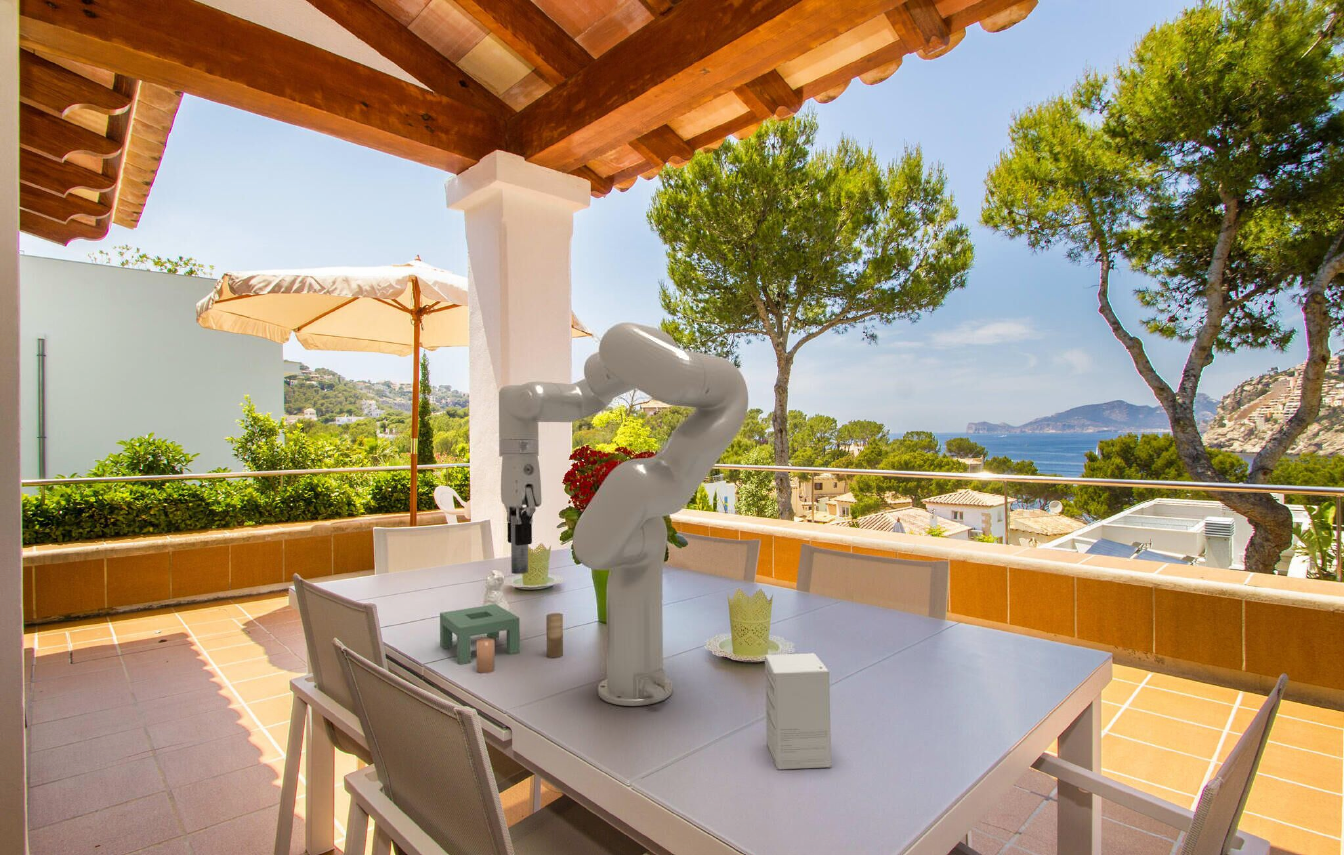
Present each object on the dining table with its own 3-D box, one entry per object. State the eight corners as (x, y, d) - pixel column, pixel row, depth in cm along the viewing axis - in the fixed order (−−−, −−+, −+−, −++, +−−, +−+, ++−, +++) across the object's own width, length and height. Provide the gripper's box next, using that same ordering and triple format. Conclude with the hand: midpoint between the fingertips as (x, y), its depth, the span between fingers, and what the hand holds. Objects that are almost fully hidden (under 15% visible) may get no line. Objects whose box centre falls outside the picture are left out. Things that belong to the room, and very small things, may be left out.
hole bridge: (519, 652, 133) (519, 617, 133) (460, 664, 126) (459, 627, 126) (495, 636, 144) (495, 604, 145) (440, 646, 138) (439, 612, 138)
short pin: (497, 670, 122) (496, 641, 123) (480, 674, 121) (479, 644, 121) (491, 666, 125) (491, 637, 125) (474, 669, 123) (474, 640, 123)
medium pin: (565, 656, 130) (565, 615, 131) (550, 659, 129) (550, 618, 129) (558, 651, 133) (558, 612, 133) (544, 654, 131) (543, 614, 131)
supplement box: (817, 742, 92) (816, 651, 92) (832, 769, 85) (830, 670, 85) (765, 744, 92) (763, 653, 92) (775, 770, 84) (773, 671, 85)
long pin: (530, 572, 127) (530, 515, 127) (515, 574, 125) (514, 516, 125) (524, 569, 130) (524, 514, 130) (508, 571, 128) (508, 515, 128)
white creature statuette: (470, 617, 160) (469, 568, 161) (505, 612, 164) (505, 564, 165) (477, 626, 152) (477, 574, 152) (514, 621, 156) (514, 571, 156)
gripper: (554, 448, 123) (555, 546, 123) (521, 448, 137) (522, 536, 136) (516, 449, 119) (516, 551, 119) (486, 449, 132) (486, 540, 132)
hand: (519, 542), depth 127 cm, fingers closed on long pin, 3 cm apart
